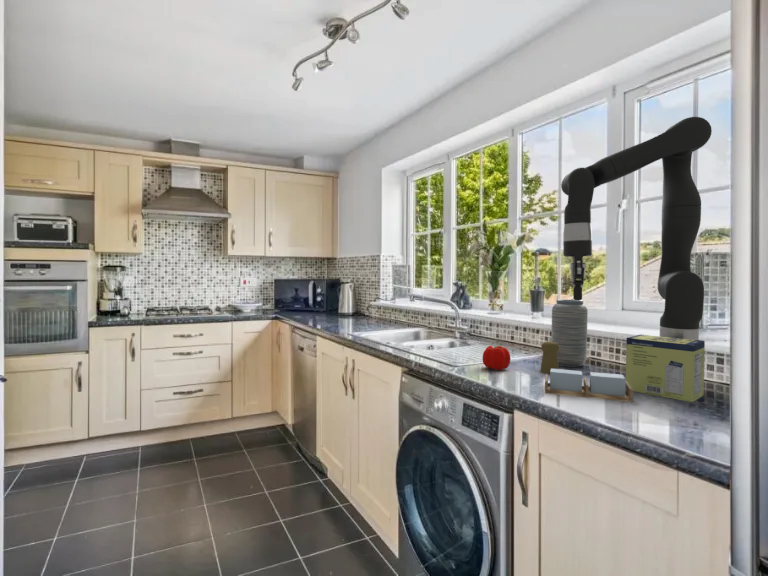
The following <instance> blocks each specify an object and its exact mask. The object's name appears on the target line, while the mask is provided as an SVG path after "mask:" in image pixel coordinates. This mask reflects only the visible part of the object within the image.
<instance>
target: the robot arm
mask: <svg viewBox="0 0 768 576" xmlns="http://www.w3.org/2000/svg"><path fill="white" fill-rule="evenodd" d="M712 129H713V128H712V125H711V124H710V122H709V121H708V120H706V119H705V118H704V117H700V116H690V117H686V118H684V119H682V120H680V121H678V122H676V123H674V124H673V125H671V126H670V127H669V128H668V129H666V131H664V132H662V133H660V134H659V135H657V136H654V137H652V138H650V139H648V140H645V141H643V142H640V143H637V144H635V145H632V146H629V147H627V148H625V149H623V150H621V151H617V152H615V153H613V154H609V155H607V156H605V157H603V158H601V159H599V160H598V161H596V162H595V163H593V164H591V165H588V166H586V167H577V168H574V169H573V170H572V171H571V172H569V173H567V174H566V175H565V176H564V178H563V179H562V181H561V184H560V185H561V186H560V187H561V191H562V192H563V194H564V195H566V196H567V204H566V205H565V207H564V211H563V212H564V213H563V214H564V215H563V216H564V217H563V218H564V219H563V221H564V225H563V233H562V235H563V239H562V241H563V249H562V250H563V251H562V252H563V254H562V255H563V256H564V258H565V257H566V258H570V257H571V258H572V262H569V270H570V279H571V283H572V287H573V289H572V290H573V293H572V297H573V299H572V300H582V301H583V286H584V283H585V282H584V281H585V280H584V279H585V277H586V275H585V273H586V272H585V270H586V265H587V264H586V262H584V259H583V258H584V257H591V256H592V254H593V230H592V221H591V220H592V214H591V213H592V210H591V207H592V202H593V197H594V193H595V189H596V188H597V187H600V186H602V185H605V184H607V183H611V182H614V181H616V180H618V179H622V178H624V177H625V176H628V175H630V174H632V173H635V172H636V171H639V170H640V169H642V168H645V167H646V166H649V165H651V164H653V163H655V162H657V161H659V160H661V163H662V176H663V178H662V201H661V202H662V203H661V259H660V267H659V273H658V280H657V291H658V294H659V295H660V297H661V298H662V299H663V300H664V311H663V313H662V315H660V318H659V337H670V338H681V339H692V340H700V339H699V338H700V336H699V335H700V324H701V323H700V322H701V321H702V318H703V315H704V314H703V313H704V303H705V302H704V300H705V285H704V282H703V280H702V278H701V277H700V276H699V275H698V274H697V273H695V272H692V271H691V256H692V255H691V254H692V251H693V247H694V244H695V242H696V239H697V236H698V232H699V230H700V226H701V220H702V219H701V217H702V200H701V194H700V193H699V190H698V188H697V185H696V184H695V181H694V180H693V176H692V157H693V153H694V152H695V151H697V150H699V149H701V148H702V147H704V146H705V145H706V144H707V143H708V142H709V140H710V139H711V135H712V132H713V131H712Z"/></svg>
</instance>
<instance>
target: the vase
mask: <svg viewBox="0 0 768 576" xmlns="http://www.w3.org/2000/svg"><path fill="white" fill-rule="evenodd" d="M588 313H589V312H588V308H587V306H586V305H585V304H584V300H583V299H582V300H574V299H556V303H555V304H554V305H553V306H552V308H551V340H550V341H551V342H556V343H558V345H559V351H558V352H557V357H558V366H560V367H568V368H580V367H582V366H583V364H584V363H585V362H587V353H588V351H587V349H588V348H587V347H588Z"/></svg>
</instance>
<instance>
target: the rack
mask: <svg viewBox="0 0 768 576" xmlns="http://www.w3.org/2000/svg"><path fill="white" fill-rule="evenodd" d="M544 376H545V380H544V394H550V395H559V396H567V397H568V396H569V397H570V396H571V397H579V398H589V399H596V400H597V399H600V400H608V401H609V400H610V401H619V402H628V403H630V402H631V403H633V397H634V396H633V394H634V393H633V392H634V391H633V389H632V388H631V386H630V385H629V383H628V382H627V381H626V380H625V396H617V395H607V394H596V393H590V384H589V382H588V378H587V377H583V385H582V392H576V391H566V390H555V389H550V382H549V374H547V373H545V375H544Z"/></svg>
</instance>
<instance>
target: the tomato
mask: <svg viewBox="0 0 768 576" xmlns="http://www.w3.org/2000/svg"><path fill="white" fill-rule="evenodd" d="M482 364H483V365H484V366H485V367H486V368H487V369H489V370H490V369H493V370H494V371H501V370H505V369H507V368H508V367H509V366H510V364H511V353H510V351H509V350H508V348H506V347H505V346H504V347H503V346H501V345H496V346H494V347H493V346H492V345H488V346H487V347H486V349H485V350H483V353H482Z"/></svg>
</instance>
